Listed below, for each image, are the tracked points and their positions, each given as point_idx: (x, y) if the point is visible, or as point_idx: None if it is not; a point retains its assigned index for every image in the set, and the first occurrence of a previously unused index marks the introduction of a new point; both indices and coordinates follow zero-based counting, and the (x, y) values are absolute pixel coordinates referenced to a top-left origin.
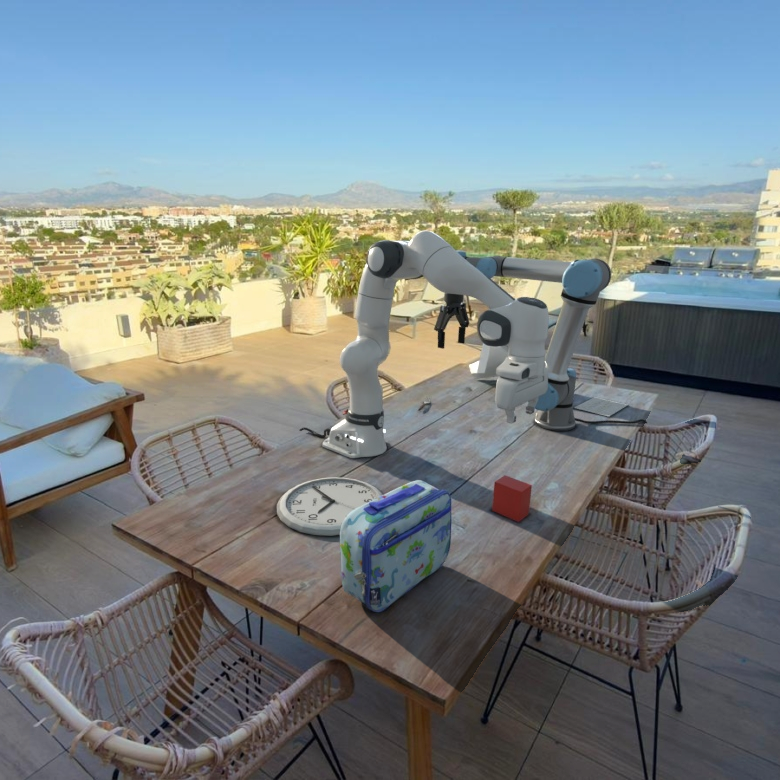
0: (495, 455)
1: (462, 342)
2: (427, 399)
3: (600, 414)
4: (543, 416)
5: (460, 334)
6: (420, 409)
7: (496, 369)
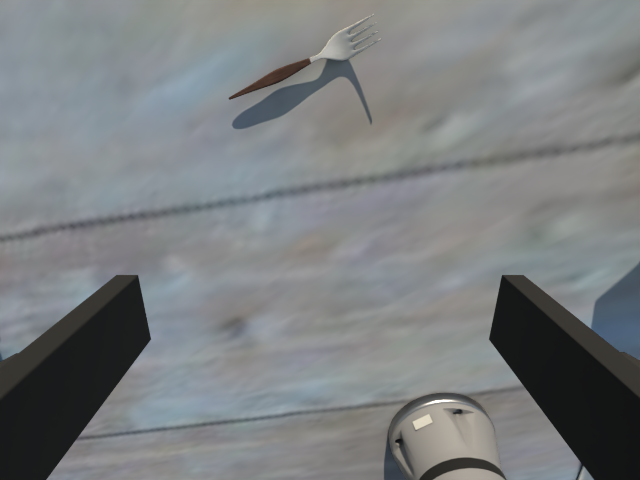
0: (161, 427)
1: (497, 334)
2: (357, 34)
3: (580, 473)
4: (405, 447)
5: (560, 367)
6: (248, 92)
7: None
